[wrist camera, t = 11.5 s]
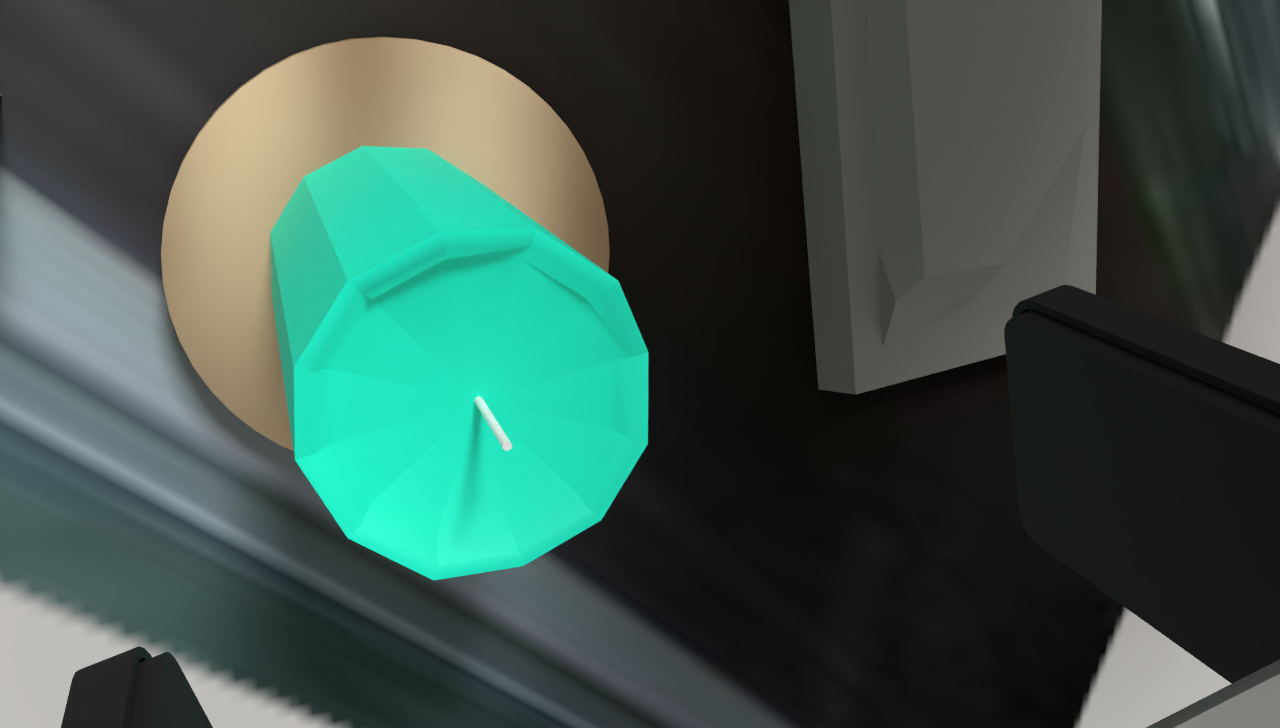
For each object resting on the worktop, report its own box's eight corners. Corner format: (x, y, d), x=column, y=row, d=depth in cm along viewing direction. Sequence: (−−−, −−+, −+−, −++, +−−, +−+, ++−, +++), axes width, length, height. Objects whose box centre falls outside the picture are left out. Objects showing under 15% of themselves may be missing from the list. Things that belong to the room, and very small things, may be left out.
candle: (472, 399, 28) (622, 645, 17) (238, 349, 25) (245, 600, 15) (540, 184, 27) (747, 304, 16) (302, 109, 24) (359, 193, 13)
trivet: (534, -15, 26) (546, -16, 25) (635, 371, 31) (650, 384, 30) (83, 110, 24) (76, 114, 23) (264, 512, 28) (266, 532, 27)
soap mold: (805, 387, 34) (864, 426, 31) (747, -332, 26) (817, -378, 23) (1062, 313, 37) (1139, 341, 34) (1074, -353, 29) (1175, -396, 26)
